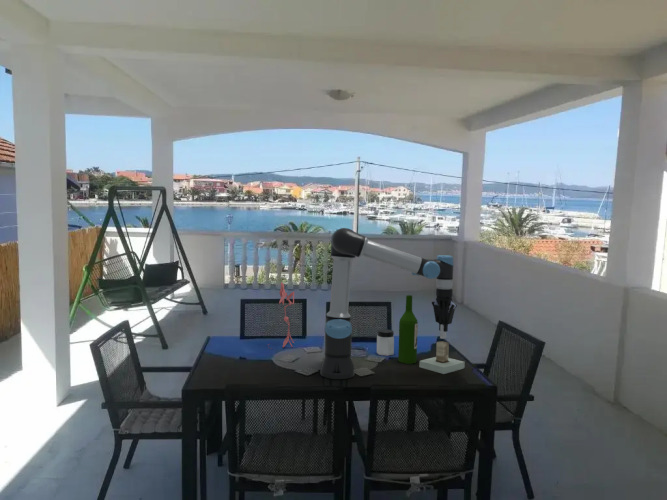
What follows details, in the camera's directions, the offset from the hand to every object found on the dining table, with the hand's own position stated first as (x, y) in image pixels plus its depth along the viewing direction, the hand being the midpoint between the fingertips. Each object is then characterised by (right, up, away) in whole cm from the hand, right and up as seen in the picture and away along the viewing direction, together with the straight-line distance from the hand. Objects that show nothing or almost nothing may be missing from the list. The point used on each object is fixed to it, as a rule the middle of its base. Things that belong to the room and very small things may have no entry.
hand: (443, 338), depth 229 cm
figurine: (-80, -11, +37) cm, 89 cm away
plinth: (0, -14, +1) cm, 14 cm away
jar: (-25, -13, +24) cm, 37 cm away
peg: (0, -14, +1) cm, 14 cm away
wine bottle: (-15, -14, +10) cm, 23 cm away
